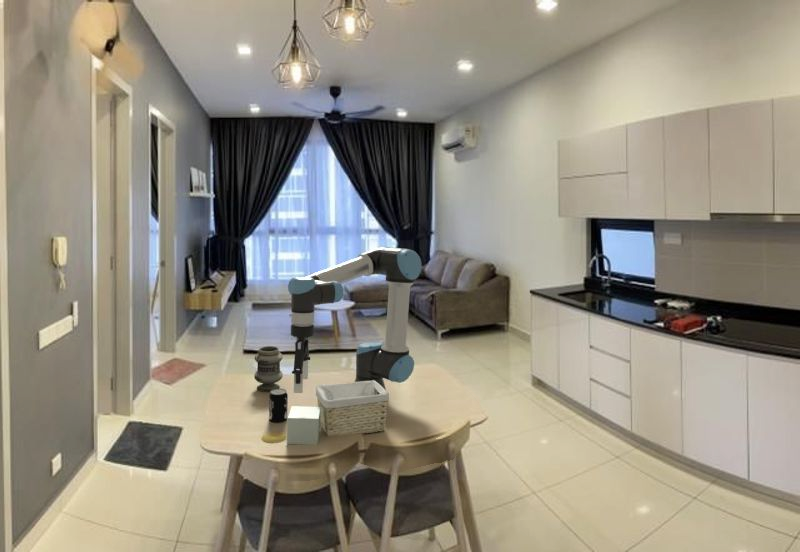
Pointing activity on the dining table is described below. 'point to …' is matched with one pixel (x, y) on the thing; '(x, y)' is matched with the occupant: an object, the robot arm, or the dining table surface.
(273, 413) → the beverage can
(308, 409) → the cover
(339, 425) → the storage basket
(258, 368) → the apothecary jar
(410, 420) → the dining table surface
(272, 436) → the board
